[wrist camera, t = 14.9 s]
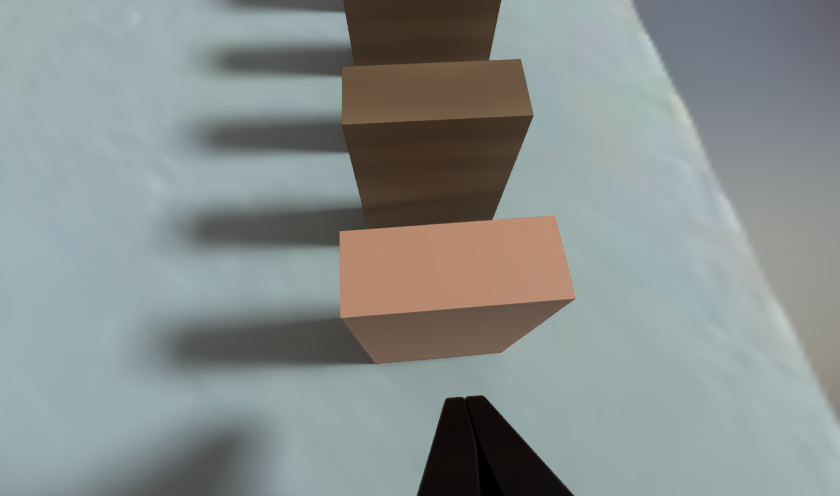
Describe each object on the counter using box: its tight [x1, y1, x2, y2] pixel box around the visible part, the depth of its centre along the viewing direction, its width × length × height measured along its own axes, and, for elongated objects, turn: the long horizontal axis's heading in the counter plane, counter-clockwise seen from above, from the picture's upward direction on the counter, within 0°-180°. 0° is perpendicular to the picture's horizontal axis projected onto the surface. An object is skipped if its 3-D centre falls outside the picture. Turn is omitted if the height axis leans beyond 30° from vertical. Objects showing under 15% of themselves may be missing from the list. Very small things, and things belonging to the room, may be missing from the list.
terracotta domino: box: [340, 216, 576, 364], centre depth 12 cm, size 2×5×8 cm, turn 95°
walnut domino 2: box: [342, 59, 533, 229], centre depth 14 cm, size 2×5×8 cm, turn 94°
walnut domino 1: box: [343, 0, 501, 66], centre depth 16 cm, size 2×5×8 cm, turn 94°
